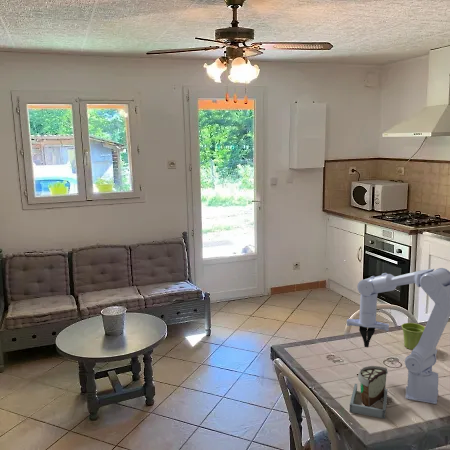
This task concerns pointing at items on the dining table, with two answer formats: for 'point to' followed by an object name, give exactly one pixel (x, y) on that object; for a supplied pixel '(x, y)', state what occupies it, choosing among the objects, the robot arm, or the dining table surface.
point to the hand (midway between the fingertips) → (366, 346)
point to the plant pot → (412, 334)
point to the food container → (372, 384)
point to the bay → (367, 410)
